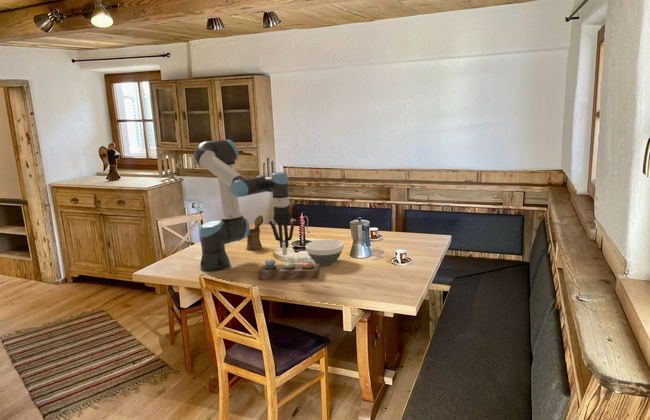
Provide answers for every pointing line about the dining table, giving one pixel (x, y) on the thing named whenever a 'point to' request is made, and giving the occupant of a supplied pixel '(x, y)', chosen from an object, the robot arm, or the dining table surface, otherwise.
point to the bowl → (325, 251)
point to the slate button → (270, 264)
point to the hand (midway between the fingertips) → (284, 254)
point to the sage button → (289, 265)
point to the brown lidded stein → (255, 235)
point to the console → (289, 272)
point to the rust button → (307, 265)
